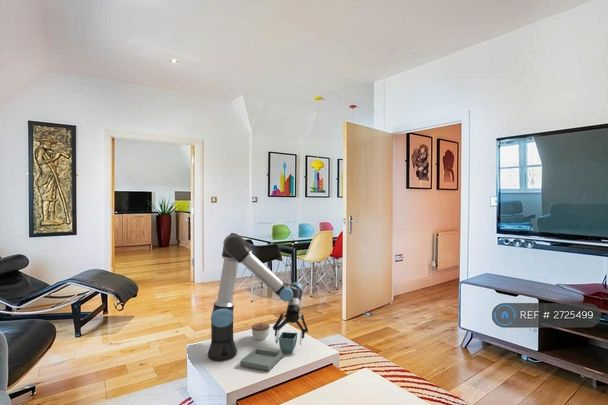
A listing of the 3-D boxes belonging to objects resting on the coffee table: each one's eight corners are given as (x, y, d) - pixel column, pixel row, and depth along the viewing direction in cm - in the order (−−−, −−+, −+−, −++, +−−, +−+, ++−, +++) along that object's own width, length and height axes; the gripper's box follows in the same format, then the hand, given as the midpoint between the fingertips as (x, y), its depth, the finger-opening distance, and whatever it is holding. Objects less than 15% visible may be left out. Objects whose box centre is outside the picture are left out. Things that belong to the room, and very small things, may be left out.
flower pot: (294, 355, 177) (294, 339, 177) (278, 354, 179) (278, 337, 179) (297, 348, 186) (297, 333, 186) (282, 347, 187) (282, 331, 187)
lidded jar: (273, 337, 202) (273, 322, 202) (261, 343, 193) (261, 327, 193) (259, 333, 208) (259, 319, 208) (248, 339, 199) (248, 324, 199)
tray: (240, 366, 165) (240, 360, 165) (255, 353, 180) (255, 347, 180) (268, 372, 160) (268, 365, 160) (282, 357, 175) (282, 352, 175)
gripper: (315, 311, 196) (311, 347, 181) (274, 309, 201) (267, 344, 186) (313, 305, 191) (309, 341, 176) (272, 303, 195) (265, 338, 181)
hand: (288, 343), depth 181 cm, fingers open, 13 cm apart
